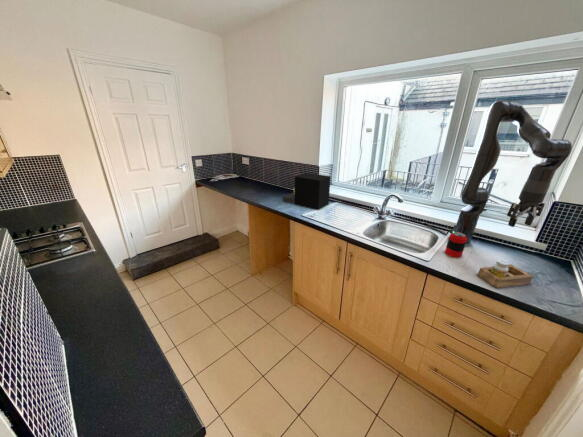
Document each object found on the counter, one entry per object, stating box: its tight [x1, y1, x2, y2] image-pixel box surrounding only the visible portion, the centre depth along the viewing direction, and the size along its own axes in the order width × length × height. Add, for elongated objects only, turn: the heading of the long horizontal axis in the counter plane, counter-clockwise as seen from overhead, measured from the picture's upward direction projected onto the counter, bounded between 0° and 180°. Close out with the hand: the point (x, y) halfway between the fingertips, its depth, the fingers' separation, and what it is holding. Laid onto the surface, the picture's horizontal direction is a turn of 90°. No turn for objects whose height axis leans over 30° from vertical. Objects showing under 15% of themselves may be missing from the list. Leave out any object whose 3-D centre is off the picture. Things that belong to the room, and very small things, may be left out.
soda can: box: [444, 232, 467, 259], centre depth 128 cm, size 8×8×12 cm
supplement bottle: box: [491, 259, 510, 278], centre depth 108 cm, size 5×5×10 cm
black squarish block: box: [282, 172, 332, 211], centre depth 202 cm, size 18×35×24 cm, turn 55°
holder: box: [477, 264, 534, 289], centre depth 110 cm, size 10×17×4 cm, turn 100°
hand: (519, 225), depth 106 cm, fingers open, 8 cm apart
